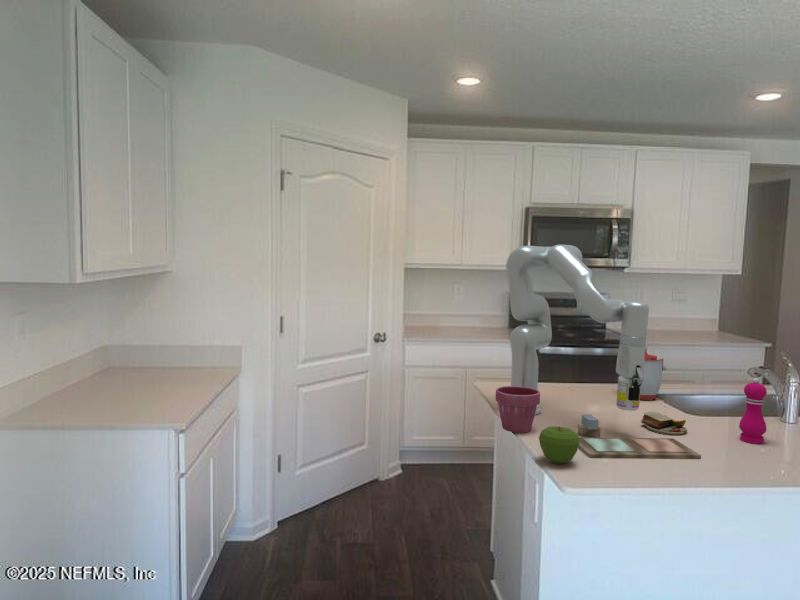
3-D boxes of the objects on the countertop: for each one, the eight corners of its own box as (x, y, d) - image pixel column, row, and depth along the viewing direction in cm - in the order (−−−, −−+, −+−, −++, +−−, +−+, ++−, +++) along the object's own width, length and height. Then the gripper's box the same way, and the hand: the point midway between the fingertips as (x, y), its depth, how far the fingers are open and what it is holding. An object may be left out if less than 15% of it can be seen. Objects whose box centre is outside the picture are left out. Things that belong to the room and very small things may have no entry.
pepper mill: (756, 445, 171) (761, 381, 170) (733, 439, 178) (737, 376, 176) (770, 442, 175) (775, 379, 173) (747, 436, 181) (751, 374, 180)
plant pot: (501, 420, 193) (502, 383, 192) (542, 426, 187) (544, 388, 186) (489, 431, 180) (490, 391, 179) (533, 438, 174) (534, 397, 173)
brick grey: (598, 429, 175) (598, 420, 175) (588, 429, 175) (589, 419, 175) (590, 423, 181) (590, 414, 181) (581, 423, 181) (581, 414, 181)
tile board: (589, 457, 157) (589, 453, 157) (570, 440, 172) (571, 436, 172) (700, 458, 159) (701, 454, 159) (673, 441, 174) (673, 437, 174)
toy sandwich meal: (668, 438, 178) (668, 423, 178) (634, 426, 190) (635, 412, 190) (695, 434, 183) (696, 419, 183) (661, 422, 195) (662, 409, 195)
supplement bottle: (637, 407, 180) (641, 367, 179) (639, 412, 173) (643, 371, 172) (615, 404, 182) (618, 365, 181) (616, 409, 176) (619, 369, 174)
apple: (554, 471, 147) (556, 433, 146) (529, 458, 156) (531, 422, 155) (587, 466, 151) (588, 429, 150) (561, 453, 160) (562, 419, 160)
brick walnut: (581, 437, 177) (581, 427, 176) (577, 434, 180) (578, 425, 179) (599, 437, 177) (600, 428, 177) (596, 434, 180) (596, 425, 180)
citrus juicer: (672, 402, 223) (675, 352, 222) (628, 401, 223) (631, 351, 222) (655, 393, 239) (657, 346, 237) (614, 392, 239) (616, 345, 238)
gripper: (609, 336, 184) (605, 389, 186) (633, 345, 167) (628, 404, 169) (632, 337, 184) (627, 390, 186) (658, 346, 167) (653, 405, 169)
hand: (628, 396), depth 177 cm, fingers closed on supplement bottle, 6 cm apart
